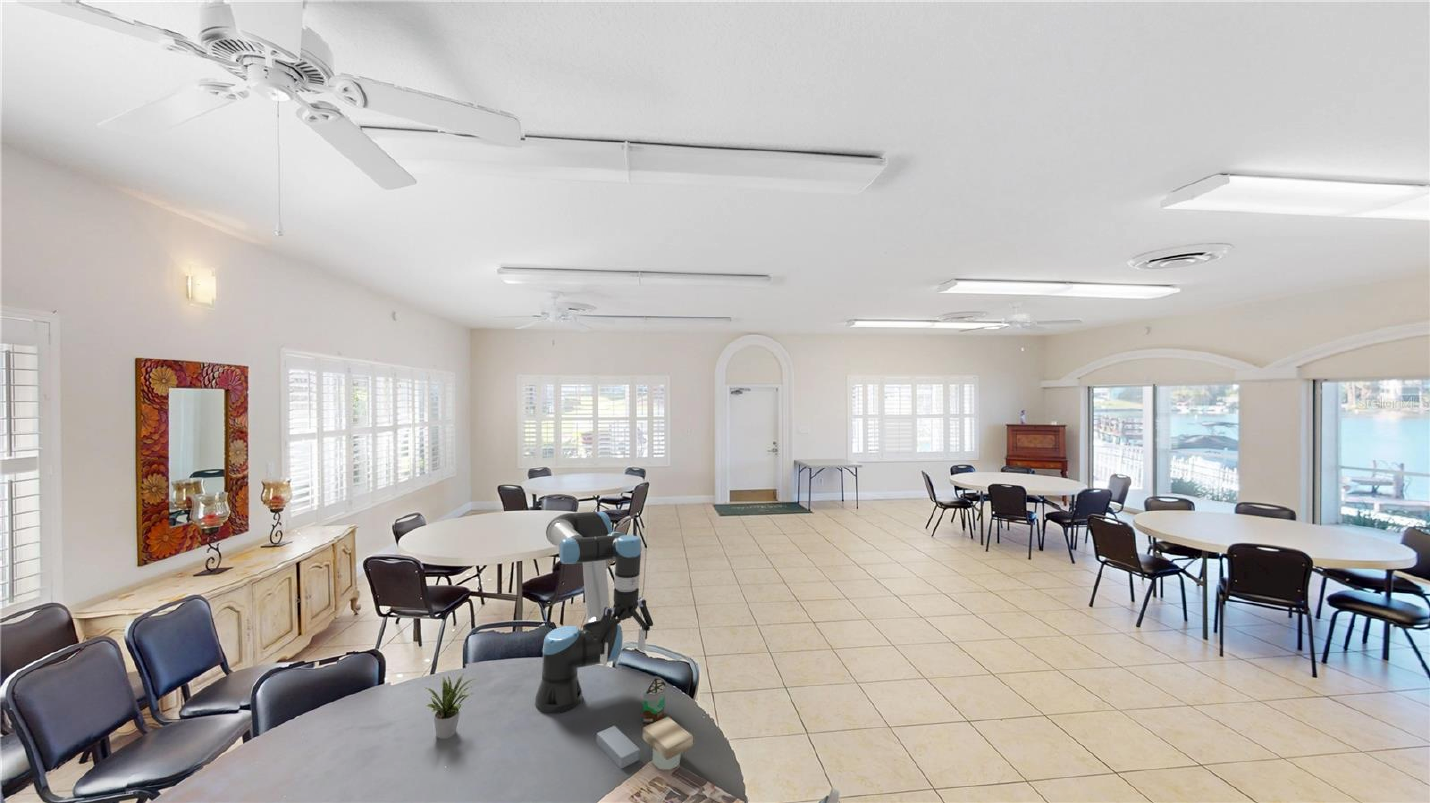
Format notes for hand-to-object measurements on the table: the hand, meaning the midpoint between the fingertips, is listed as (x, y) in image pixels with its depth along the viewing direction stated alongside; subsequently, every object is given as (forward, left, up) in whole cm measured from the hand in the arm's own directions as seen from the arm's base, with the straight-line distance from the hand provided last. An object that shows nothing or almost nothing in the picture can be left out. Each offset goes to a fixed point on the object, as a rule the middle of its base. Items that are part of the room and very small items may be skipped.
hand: (622, 656), depth 158 cm
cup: (+18, +5, -24) cm, 30 cm away
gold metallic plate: (+18, +5, -19) cm, 26 cm away
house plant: (-32, -39, -24) cm, 56 cm away
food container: (-1, +15, -24) cm, 29 cm away
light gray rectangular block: (+6, -4, -24) cm, 25 cm away
